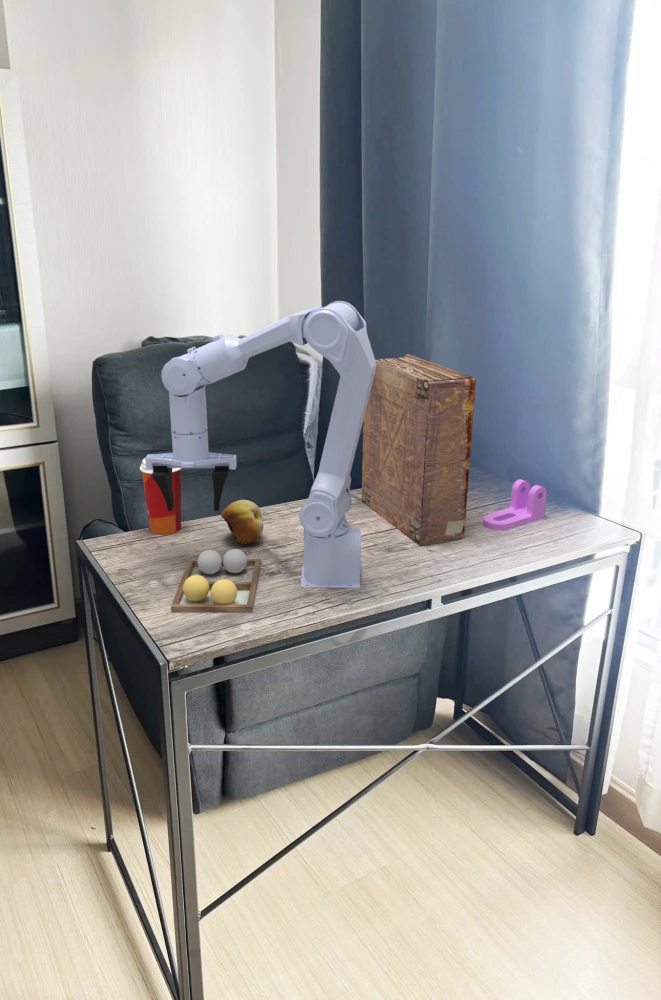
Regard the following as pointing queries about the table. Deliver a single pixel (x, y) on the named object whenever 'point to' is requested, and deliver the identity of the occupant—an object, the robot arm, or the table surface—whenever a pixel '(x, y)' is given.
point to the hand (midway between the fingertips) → (194, 509)
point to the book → (418, 448)
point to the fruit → (244, 520)
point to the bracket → (519, 508)
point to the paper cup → (162, 503)
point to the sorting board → (183, 604)
